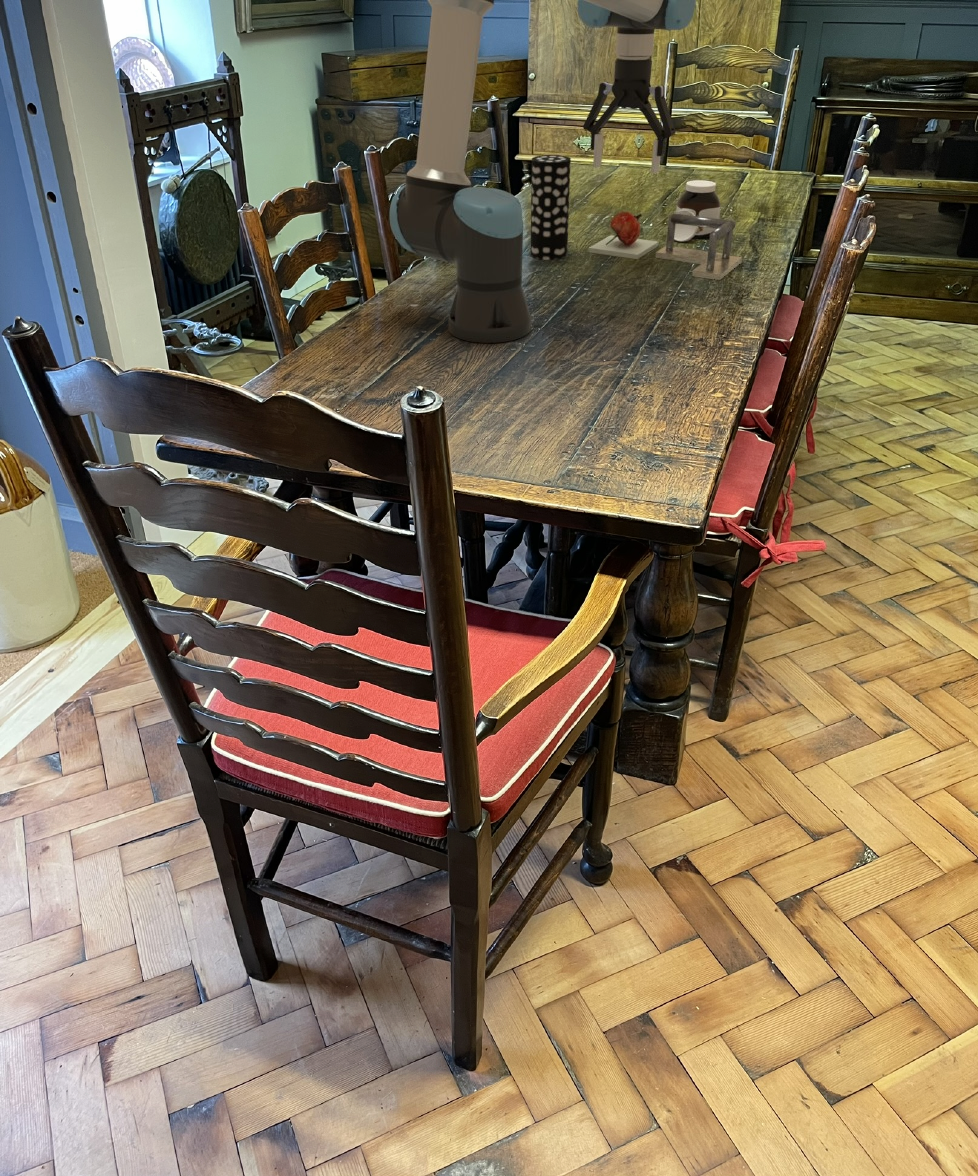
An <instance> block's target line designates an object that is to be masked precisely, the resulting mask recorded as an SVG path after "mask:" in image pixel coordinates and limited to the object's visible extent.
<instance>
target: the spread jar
mask: <svg viewBox="0 0 978 1176" xmlns="http://www.w3.org/2000/svg"><path fill="white" fill-rule="evenodd" d="M716 187H717V183H716V182H714V181H711V180H704V179H703V180H702V179H701V180H700V179H699V180H698V179H696V180H695V179H694V180H689V181H687V182H686V183H685V191H684V192H683V193H682V194H681V195H680V196H679V198H678V200H677V202H676V203H677V204H676V209H675V212H674V213H675V214H683V215H691V216H700V217H708V218H716V219H720V215H721V200H720V198H719V196H718V194H717V192H716ZM714 230H715V228H707V227H699V226H691V225H683V224H676V225H675V235H674V241H677V242H682V243H683V242H689V241H690V240H704V239H708V238H709V235H710V233H711V232H712V231H714Z"/></svg>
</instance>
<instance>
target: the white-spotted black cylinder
mask: <svg viewBox="0 0 978 1176" xmlns="http://www.w3.org/2000/svg"><path fill="white" fill-rule="evenodd" d="M571 161H572V159H571V157H569V156H566V155H558V154H545V155H544V154H542V155H537V156H533V157H532V158H531V183H530V186H531V187H530V188H531V189H530V190H531V191H530V193H531V195H530V198H531V199H530V256H531V257H532V258H534V259H537V260H542V261H543V260H544V261H554V260H561V259H565V258H566V257H567V256H568V246H569V245H568V243H569V217H570V216H569V215H570V194H571V192H570V191H571V190H570V187H571V185H570V184H571Z"/></svg>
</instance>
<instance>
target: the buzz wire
mask: <svg viewBox="0 0 978 1176" xmlns="http://www.w3.org/2000/svg"><path fill="white" fill-rule="evenodd" d="M675 213H676V212H673V213H671V214H669V215H668V221H667V222H668V224H667V232H666V233H667V235H666V243H665V244H666V245H665V246H663V247H662V248H660V249H659V250H657V251H655V259H662V260H668V261H675V262H682V263H687V264H697V265H698V266H697V267H696V268H694V269H692V275H691V276H692V277H696V278H703V279H707V280H714V279H715V280H716V281H721V280H722V279H724V278H725V277H726V276H727V275H728V274H729V272H730V273H731V272H732V271H733V270H735V269H736V268H737V267H738V266H740V265H741V264H742V261H743V260H742V259H743V257H741V256H734V255H731V250H732V243H733V241H732V240H733V234H734V229H735V228H736V222H735V220H733V219H723V218H719V219H716V218H708V217H700V216H691V215H683V214H675ZM676 224H683V225H691V226H699V227H707V228H715V230H714V231H712V232H711V233H710V235H709V237H708V238H709V240H708V241H709V242H708V250H701V249H693V248H686V247H679V246H678V247H677V246H674V243H675V239H674V235H675V225H676ZM722 237H724V240H723V248H722V253H721V252H717V247H718V240H720V239H721V238H722ZM739 264H740V265H739ZM734 268H735V269H734ZM724 276H725V277H724Z"/></svg>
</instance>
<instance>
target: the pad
mask: <svg viewBox="0 0 978 1176" xmlns="http://www.w3.org/2000/svg"><path fill="white" fill-rule="evenodd" d="M615 236H616V235H611V234H610V235H609V236H606V237H605V238H603V239H602V240H600V241H598V242H596V243H595V244H593V245H591V246H589V247H588V253H592V254H598V255H606V256H612V257H619V258H626V259H631V260H632V259H633V260H638V259H639V260H640V258H642V257H644V256H645V255H647V254H648V253H650V252H652V251H653V250H655V249H656V248H658V247H659V244H660V243H659V241H656V240H649V239H643V238H642V239H641V238H638V239H637V240H636V241H635V242H634V243H633V244H631V245H625V244H624V243H622V242H621V241H620V240H619V239H618V237H616V238H615V239H614V240H613V241H612V242H610V243H609V244H607V243H608V242H609V241H610V240H612V239H613V238H614V237H615ZM606 244H607V245H606Z"/></svg>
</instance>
